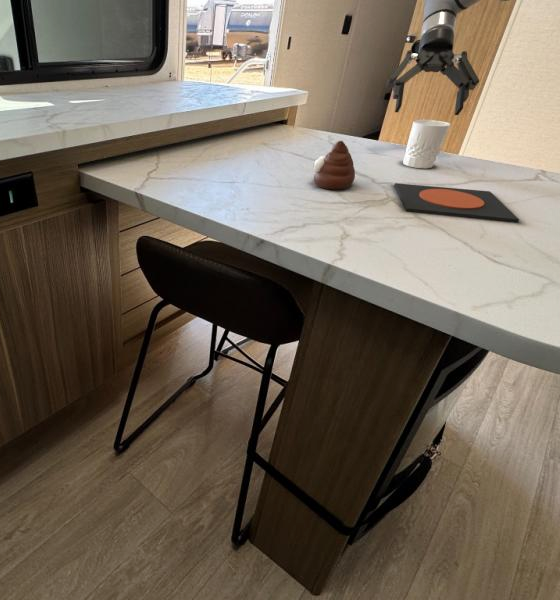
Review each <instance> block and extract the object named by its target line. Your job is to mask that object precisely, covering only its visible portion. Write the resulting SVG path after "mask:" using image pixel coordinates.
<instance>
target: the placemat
mask: <svg viewBox="0 0 560 600" xmlns="http://www.w3.org/2000/svg"><path fill="white" fill-rule="evenodd" d="M393 186H394V188H395V190H396V193H397V195H398V197H399V199H400V201H401V203H402V205H403V208H404V211H405V212H412V213H420V214H421V213H422V214H432V215H439V216H440V215H441V216H449V217H461V218H470V219H478V220H481V219H482V220H490V221H498V222H499V221H500V222H501V221H502V222H507V223H508V222H509V223H519V222H520V219H519V218H518V217H517V216H516V215H515V213H514V212H512V211H511V210H510V208H508V207H507V206H506V205H505V204H504V203H503V202H501V200H500V199H499V198H498V197H497V196H495V195H494V194H493V193H492V191H489V190H478V189H465V188H457V187H456V188H454V187H444V186H433V185H432V186H431V185H423V184H422V185H421V184H411V183H398V182H395V183H394V184H393Z"/></svg>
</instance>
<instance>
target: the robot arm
mask: <svg viewBox="0 0 560 600" xmlns="http://www.w3.org/2000/svg"><path fill="white" fill-rule="evenodd" d="M480 1H481V0H424V4H423V18H422V24H421V32H420V40H419V45H418V51H417V52H418V53H413V51H412V50H411V49H409V50H407V51H406V53H405V56H404V58H403V60H401V63H399V65H398V66H397V67H396V69H395V70H394V71H393V72H392V74H391V75H390V76H389V78H388V80H387V82H386V87H387V88H392V92H393V93H392V99H393V100H396V101H395V108H394V113H399V111H400V109H401V107H402V105H403V98H404V90H405V84H406V83H408V82H409V81H410V80H411V79H413V78H414V77H415V76H416V75H419V74H420V73H421V72H422V71H424V73H431V72H433V73H440V74H442V75H443V76H446V78H447V79H448V80H450V81H451V82H452V83H453V85H454V86H456V87H457V89H458V91H457V92H456V98H455V106H454V107H455V110H454V116H459V115H460V113H461V112H462V111H463V109H464V104H465V103H466V101H467V100H468V98H469V96H470V91H473V90H475V89H476V87H477V86H478V85H479V83H480V79H479V77H478V74H477V73H476V72H475V69H474V68H473V65H472V64H471V63H470V60H469V59H468V52H467V51H466V50H463V51H462V52H461V53H456V54H455V53H454V51H453V50H454V44H455V43H454V42H455V33H456V24H457V17H458V14H459V13H462V12H463V11H465V10H467V9H468V8H470V7H472V6H473V5H475V4H477V3H478V2H480ZM500 1H501V2H509V1H510V0H500ZM413 61H415V62H416V64H415V65H413V66H412V67H411V68H410V69H409V70H407V71H406V72H405V73H403V72H404V71H405V70H406V68H407V66H408V65H410V64H411V63H412V62H413ZM402 73H403V74H402ZM401 74H402V75H401Z"/></svg>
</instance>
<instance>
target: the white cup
mask: <svg viewBox="0 0 560 600" xmlns="http://www.w3.org/2000/svg"><path fill="white" fill-rule="evenodd" d="M451 125H452V123H450V122H446V121H443V120H442V121H441V120H435V119H433V120H432V119H415V120H413V121H412V126H411V128H410V133H409V136H408V140H407V144H406V149H405V154H404V157H403V161H402V163H403V165H404V166H407V167H410V168H415V169H431V168H433V167H434V166H435V163H436V160H437V157H438V156H439V154H440V152H441V149H442V147H443V145H444V142H445V140H446V137H447V135H448V132H449V130H450V128H451Z"/></svg>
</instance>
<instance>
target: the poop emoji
mask: <svg viewBox="0 0 560 600" xmlns="http://www.w3.org/2000/svg"><path fill="white" fill-rule="evenodd" d="M312 168H313V169H314V172H315V173H314V174H313V182H314V184H315V186H317V188H318V187H319V188H321V189H325V190H330V191H342V190H345V189H347V188H349V187H350V186H351V185H352V184H353V182H354V181H355V179H356V170H355V166H354V160H353V158H352V154H351V153H350V152H349V148H348V146H347V145H346V144H345V143H344V141H343V140H337V141H336V142H335V143H334V144H333V146H332V148H331V150H330V151H329V152H328V153H327V154H326V155H321V156H319V158H318V159H316V160H314V162H313V167H312Z"/></svg>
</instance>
